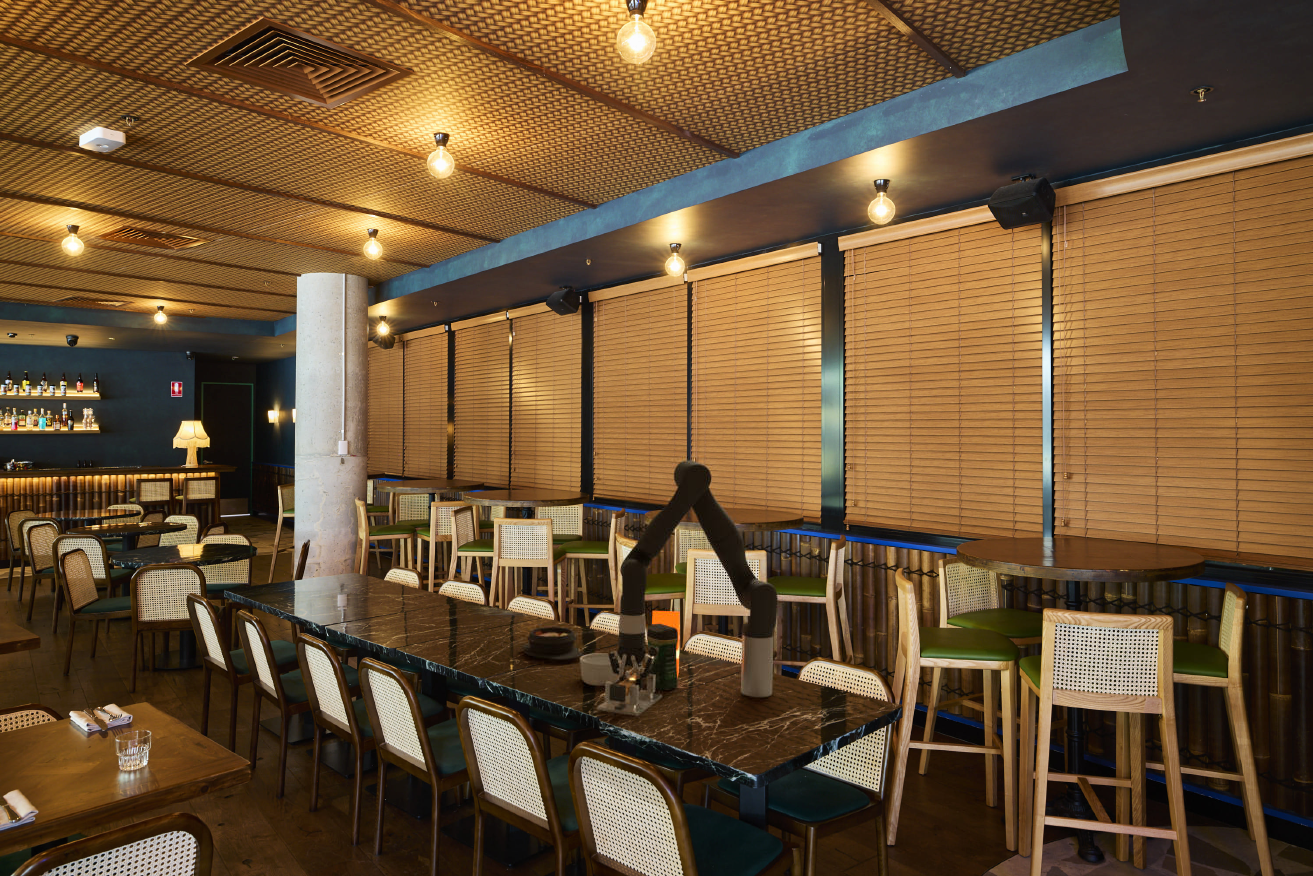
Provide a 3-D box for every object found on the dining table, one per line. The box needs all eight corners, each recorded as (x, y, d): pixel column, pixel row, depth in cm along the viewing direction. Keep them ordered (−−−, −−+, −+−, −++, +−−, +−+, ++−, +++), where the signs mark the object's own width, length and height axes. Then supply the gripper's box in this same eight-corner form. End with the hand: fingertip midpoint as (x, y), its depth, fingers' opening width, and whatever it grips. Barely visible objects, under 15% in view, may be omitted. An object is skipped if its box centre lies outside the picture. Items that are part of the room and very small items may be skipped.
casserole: (508, 653, 274) (509, 628, 275) (552, 644, 287) (552, 621, 287) (550, 668, 256) (551, 642, 256) (595, 659, 269) (596, 634, 269)
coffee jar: (681, 688, 238) (683, 626, 238) (660, 692, 233) (662, 629, 233) (662, 680, 246) (663, 620, 246) (641, 684, 241) (642, 623, 241)
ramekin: (627, 677, 248) (628, 655, 248) (614, 689, 236) (614, 666, 236) (588, 673, 252) (588, 651, 252) (572, 684, 239) (573, 661, 239)
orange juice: (678, 677, 249) (679, 614, 249) (650, 676, 249) (651, 613, 250) (678, 670, 257) (680, 609, 257) (651, 669, 257) (653, 608, 258)
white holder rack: (624, 691, 233) (624, 667, 233) (661, 697, 229) (662, 673, 229) (597, 709, 216) (597, 684, 217) (637, 716, 212) (637, 689, 212)
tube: (636, 681, 232) (637, 667, 232) (649, 683, 230) (649, 669, 230) (609, 700, 214) (609, 685, 214) (623, 702, 213) (623, 687, 213)
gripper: (660, 629, 224) (659, 690, 223) (614, 624, 229) (613, 683, 229) (650, 635, 217) (649, 697, 216) (603, 629, 222) (602, 690, 222)
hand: (630, 690), depth 223 cm, fingers closed on tube, 4 cm apart
